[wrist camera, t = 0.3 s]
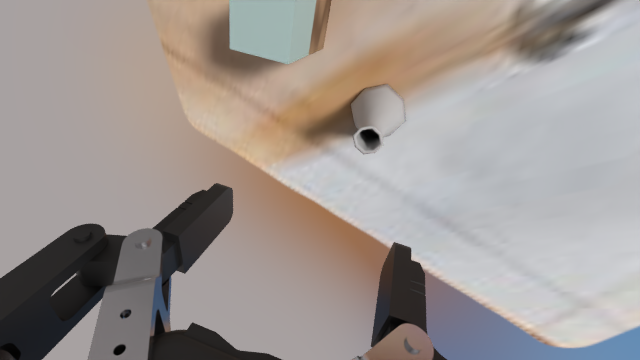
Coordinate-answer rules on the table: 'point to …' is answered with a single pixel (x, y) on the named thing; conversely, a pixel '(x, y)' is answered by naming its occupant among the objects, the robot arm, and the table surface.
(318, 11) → the tower bottom
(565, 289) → the table surface
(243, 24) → the tower top
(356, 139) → the flask
